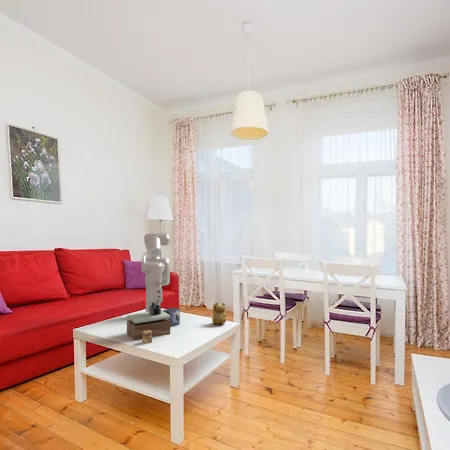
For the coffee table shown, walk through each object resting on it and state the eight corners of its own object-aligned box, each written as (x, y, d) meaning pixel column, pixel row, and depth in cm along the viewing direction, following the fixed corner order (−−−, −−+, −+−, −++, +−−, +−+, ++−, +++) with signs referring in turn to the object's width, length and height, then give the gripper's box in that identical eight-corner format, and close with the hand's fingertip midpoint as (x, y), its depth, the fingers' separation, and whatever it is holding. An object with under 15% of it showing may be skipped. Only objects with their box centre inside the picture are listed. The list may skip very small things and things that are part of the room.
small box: (168, 328, 206) (168, 311, 206) (161, 326, 210) (161, 310, 210) (180, 324, 215) (180, 308, 215) (173, 322, 219) (173, 307, 219)
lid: (127, 317, 194) (127, 306, 194) (161, 312, 207) (161, 302, 207) (134, 323, 183) (135, 312, 183) (170, 317, 195) (170, 307, 195)
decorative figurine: (226, 322, 219) (227, 300, 220) (225, 326, 211) (225, 303, 211) (212, 322, 221) (213, 300, 221) (210, 325, 212) (211, 303, 213)
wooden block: (149, 340, 183) (149, 329, 183) (152, 342, 180) (152, 331, 180) (142, 341, 181) (142, 331, 181) (145, 344, 177) (145, 333, 177)
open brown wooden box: (126, 333, 194) (126, 320, 194) (160, 327, 206) (161, 315, 206) (134, 340, 182) (134, 326, 182) (170, 333, 195) (170, 320, 195)
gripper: (167, 285, 192) (166, 316, 192) (156, 281, 206) (155, 309, 206) (155, 286, 188) (154, 318, 188) (144, 282, 202) (144, 311, 202)
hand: (155, 313), depth 197 cm, fingers closed on lid, 3 cm apart
